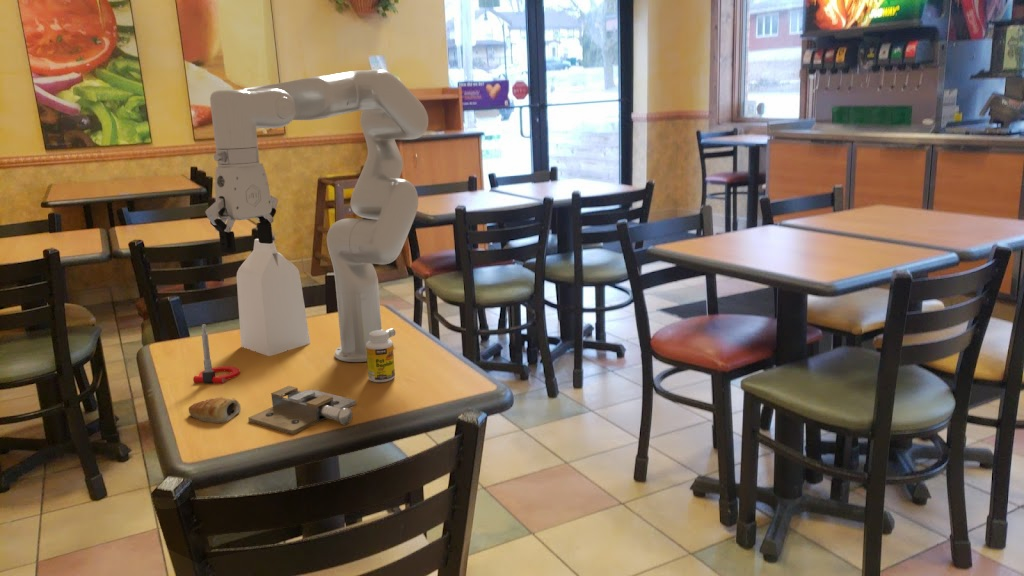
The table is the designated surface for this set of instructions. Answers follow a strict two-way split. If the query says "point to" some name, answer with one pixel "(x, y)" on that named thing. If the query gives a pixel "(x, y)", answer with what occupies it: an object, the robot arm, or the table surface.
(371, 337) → the supplement bottle
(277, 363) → the table surface
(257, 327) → the milk
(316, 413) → the hinge leaves
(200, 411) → the pastry
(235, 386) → the table surface
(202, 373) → the tow hook
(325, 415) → the pin
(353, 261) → the robot arm
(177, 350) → the table surface
